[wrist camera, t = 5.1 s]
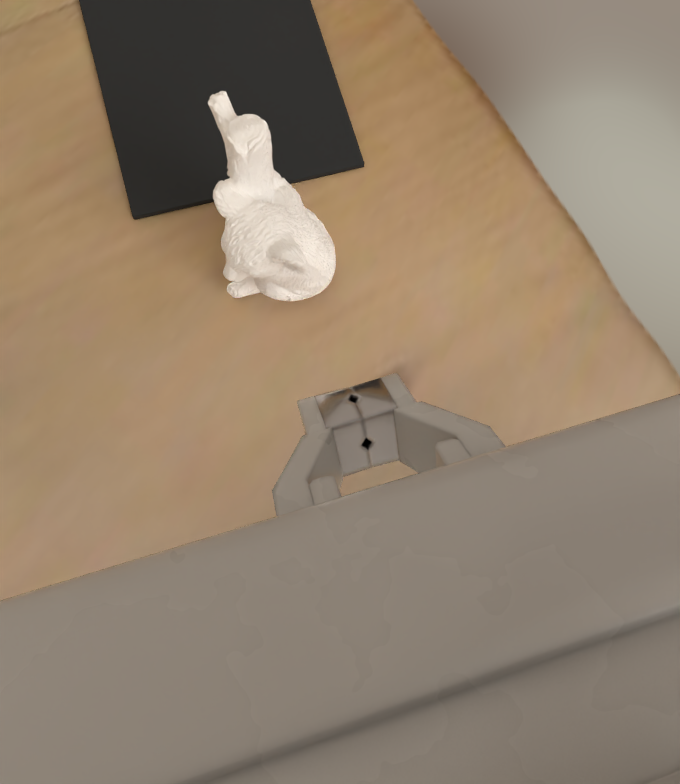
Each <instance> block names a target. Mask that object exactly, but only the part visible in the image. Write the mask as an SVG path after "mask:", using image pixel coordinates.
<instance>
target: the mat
mask: <svg viewBox="0 0 680 784" xmlns="http://www.w3.org/2000/svg"><path fill="white" fill-rule="evenodd" d="M79 2H80V6H81V10H82V14H83V18H84V22H85V26H86V30H87V34H88V38H89V42H90V46H91V50H92V54H93V58H94V62H95V66H96V70H97V74H98V78H99V83H100V87H101V91H102V95H103V99H104V103H105V107H106V111H107V115H108V119H109V123H110V127H111V131H112V135H113V139H114V143H115V147H116V151H117V155H118V159H119V163H120V167H121V172H122V176H123V180H124V184H125V188H126V192H127V196H128V200H129V204H130V208H131V212H132V216H133V218H134V219H140V218H144V217H148V216H153V215H157V214H161V213H166V212H170V211H174V210H179V209H183V208H187V207H192V206H196V205H200V204H205V203H209V202H213V201H214V200H213V190H214V188H215V186H216V184H217V183H218V182H219V181H221V180H222V181H225V180H226V179H229V178H230V177H229V176H228V175H227V171H228V168H227V163H228V160H227V155H226V149H225V143H224V141H223V137H222V134H221V132H220V130H219V128H218V126H217V124H216V121H215V118H214V116H213V113H212V111H211V109H210V107H209V105H208V101H209V99H210V96H211V95H212V94H216V93H219V92H220V91H226V93H227V95H228V98H229V100H230V102H231V105H232V107H233V110H234V112H235V113H236V115H237V116H242V115H244V114H255V115H257V116H259V117H260V118H261V119H263V120H265V121H266V123H267V125H268V129H269V130H270V134H271V143H272V161H273V168H274V170H275V171H276V172H277V173H279V174H280V176H281V178H285V180H286V181H287V182H288V183H289V184H291V183H296V182H300V181H304V180H309V179H313V178H317V177H322V176H326V175H330V174H335V173H339V172H343V171H348V170H352V169H356V168H361V167H364V161H363V158H362V155H361V152H360V149H359V146H358V143H357V140H356V137H355V134H354V131H353V128H352V125H351V122H350V119H349V116H348V113H347V110H346V107H345V104H344V101H343V98H342V95H341V92H340V89H339V86H338V83H337V80H336V77H335V74H334V70H333V67H332V64H331V61H330V58H329V55H328V52H327V49H326V46H325V43H324V40H323V37H322V34H321V31H320V28H319V25H318V22H317V19H316V16H315V13H314V10H313V7H312V4H311V1H310V0H79Z"/></svg>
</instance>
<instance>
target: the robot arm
mask: <svg viewBox="0 0 680 784" xmlns="http://www.w3.org/2000/svg"><path fill="white" fill-rule="evenodd" d="M297 404H298V408H299V412H300V416H301V420H302V423H303V427H304V431H305V435H303V436H302V437H301V439H300V441H299V443H298V445H297V446H296V448H295V450H294V452H293V454H292V455H291V457H290V459H289V461H288V463H287V464H286V466H285V468H284V470H283V472H282V473H281V475H280V477H279V479H278V481H277V482H276V484H275V486H274V488H273V490H272V493H273V499H274V504H275V509H276V515H277V517H273V518H270V519H267V520H263V521H260V522H257V523H254V524H250V525H247V526H244V527H240V528H237V529H234V530H231V531H227V532H224V533H221V534H217V535H214V536H211V537H208V538H204V539H201V540H198V541H194V542H191V543H188V544H185V545H181V546H178V547H175V548H171V549H168V550H165V551H162V552H158V553H155V554H152V555H148V556H145V557H142V558H139V559H135V560H132V561H129V562H125V563H122V564H119V565H116V566H112V567H109V568H106V569H102V570H99V571H96V572H93V573H89V574H86V575H83V576H79V577H76V578H73V579H70V580H66V581H63V582H60V583H56V584H53V585H50V586H47V587H43V588H40V589H37V590H33V591H30V592H27V593H24V594H20V595H17V596H14V597H10V598H7V599H4V600H1V601H0V784H680V394H678V395H675V396H671V397H668V398H665V399H662V400H658V401H655V402H652V403H648V404H645V405H642V406H638V407H635V408H632V409H629V410H625V411H622V412H619V413H615V414H612V415H609V416H605V417H602V418H599V419H596V420H592V421H589V422H586V423H582V424H579V425H576V426H572V427H569V428H566V429H563V430H559V431H556V432H553V433H549V434H546V435H543V436H540V437H536V438H533V439H530V440H526V441H523V442H520V443H517V444H513V445H510V446H507V447H506V446H505V445H504V444H503V442H502V441H501V440H500V439H499V438H498V436H497V435H496V434H495V433H494V431H493V430H492V429H491V428H490V426H488V425H485V424H482V423H479V422H477V421H474V420H471V419H468V418H466V417H463V416H460V415H457V414H455V413H452V412H449V411H446V410H444V409H441V408H438V407H436V406H433V405H430V404H427V403H425V402H422V401H421V402H418V403H417V402H416V400H415V399H414V397H413V396H412V394H411V393H410V391H409V390H408V388H407V387H406V385H405V384H404V382H403V381H402V379H401V378H400V376H399V375H398V374H397V373H393V374H390V375H387V376H384V377H381V378H379V379H375V380H372V381H369V382H365V383H362V384H358V385H355V386H351V387H348V388H343V389H339V390H335V391H331V392H327V393H323V394H320V395H316V396H312V397H308V398H305V399H301V400H298V401H297ZM397 460H400V461H401V462H402V463H404V464H405V465H407V466H409V467H410V468H412V469H413V470H415V471H417V472H418V474H415V475H411V476H408V477H405V478H402V479H398V480H395V481H392V482H388V483H385V484H382V485H379V486H375V487H372V488H369V489H365V490H362V491H359V492H356V493H352V494H349V495H346V496H342V497H341V494H340V491H339V490H340V487H341V484H342V481H343V477H344V476H347V475H350V474H353V473H356V472H359V471H362V470H365V469H368V468H372V467H375V466H379V465H383V464H386V463H390V462H394V461H397Z"/></svg>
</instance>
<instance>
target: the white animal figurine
mask: <svg viewBox="0 0 680 784" xmlns="http://www.w3.org/2000/svg"><path fill="white" fill-rule="evenodd" d="M208 105H209V107H210V109H211V111H212V113H213V116H214V118H215V121H216V124H217V126H218V128H219V130H220V132H221V134H222V137H223V141H224V143H225V149H226V155H227V160H228V163H227V168H228V171H227V175H228V176H229V177H230V178H229V179H226V180H225V181H222V180H221V181H219V182H218V183H217V184H216V186H215V188H214V190H213V200H214V203H215V206H216V208H217V210H218V211H219V213H220V214H221V215H222V216H223V217H225V219H226V221H225V230H224V232H223V235H222V238H221V247H222V249H223V251H224V252H225V255H226V265H225V267H224V270H223V275H224V276H225V278H226V279H228V280H230V281H233V282H231V283H229V284H228V286H227V291H228V293H229V294H230V295H231V296H232V297H234V298H241V297H244V296H248V295H252V294H257V293H260V292H261V293H262V294H264V295H266V296H268V297H270V298H273V299H276V300H281V301H297V300H303V299H307V298H310V297H312V296H315V295H316V294H319V293H320V292H322V291H323V290H324V289H325V288H326V287H327V286H328V284H330V281H332V277H333V275H334V272H335V267H336V255H335V248H334V244H333V241H332V238H331V237H330V235H329V233H328V232H327V230H326V229H325V227H324V225H323V223H322V222H321V221H320V220H318V218H317V217H316V215H315V214H314V213H313V212H311V211H310V210H309V209H308V208H307V209H306V208H305V207H304V205H303V203H302V201H301V197H300V195H299V193H297V191H296V190H295V188H292V185H291V184H289V183H288V182H287V181H286V180H285V178H281V176H280V174H279V173H277V172H276V171H275V170H274V168H273V161H272V143H271V134H270V130H269V129H268V125H267V123H266V121H265V120H263V119H261V118H260V117H259V116H257V115H255V114H244V115H242V116H237V115H236V113H235V112H234V110H233V107H232V105H231V102H230V100H229V98H228V95H227V93H226V91H220V92H219V93H216V94H212V95H211V96H210V99H209V101H208Z"/></svg>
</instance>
